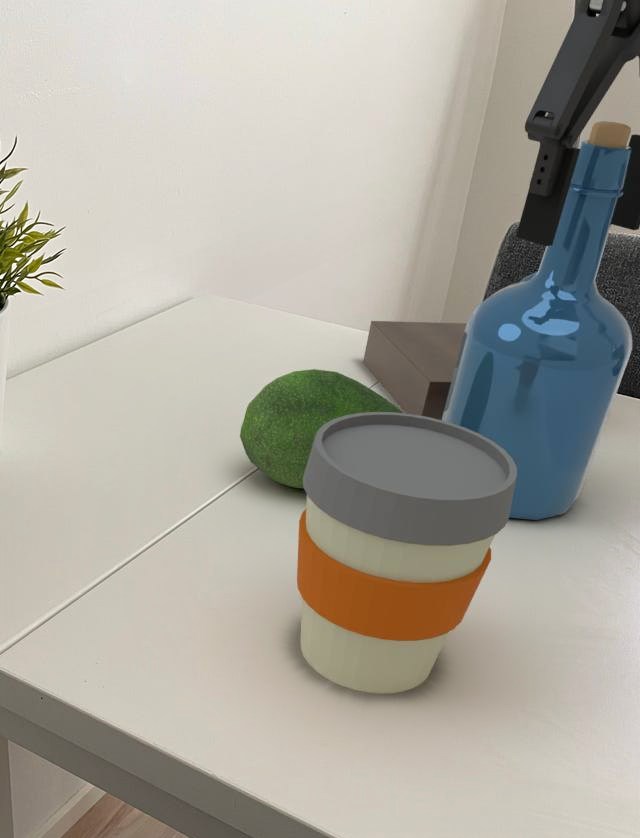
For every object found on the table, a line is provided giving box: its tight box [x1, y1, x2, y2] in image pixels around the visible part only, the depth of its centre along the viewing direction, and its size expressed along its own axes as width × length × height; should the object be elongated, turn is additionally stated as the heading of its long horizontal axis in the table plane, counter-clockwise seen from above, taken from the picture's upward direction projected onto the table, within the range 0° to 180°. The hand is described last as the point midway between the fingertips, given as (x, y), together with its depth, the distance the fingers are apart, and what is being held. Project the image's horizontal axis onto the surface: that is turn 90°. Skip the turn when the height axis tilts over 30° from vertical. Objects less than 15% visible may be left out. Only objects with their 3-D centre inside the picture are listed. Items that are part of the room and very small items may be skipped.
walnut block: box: [362, 320, 467, 420], centre depth 108 cm, size 18×18×5 cm
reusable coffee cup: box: [296, 412, 517, 695], centre depth 64 cm, size 13×13×15 cm
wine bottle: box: [442, 120, 633, 521], centre depth 82 cm, size 14×13×30 cm
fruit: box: [239, 368, 404, 489], centre depth 86 cm, size 15×10×10 cm, turn 81°
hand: (579, 233), depth 78 cm, fingers open, 12 cm apart
